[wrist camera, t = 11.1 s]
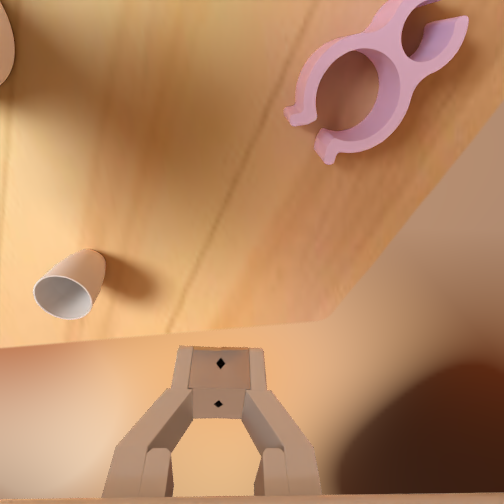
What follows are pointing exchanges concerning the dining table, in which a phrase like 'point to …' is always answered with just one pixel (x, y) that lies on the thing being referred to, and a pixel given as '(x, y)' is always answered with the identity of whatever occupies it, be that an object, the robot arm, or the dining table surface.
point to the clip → (389, 73)
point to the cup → (71, 285)
